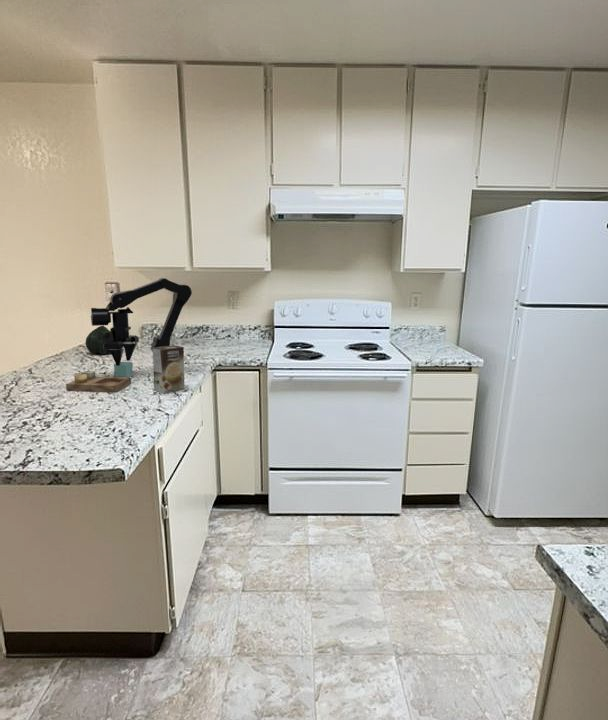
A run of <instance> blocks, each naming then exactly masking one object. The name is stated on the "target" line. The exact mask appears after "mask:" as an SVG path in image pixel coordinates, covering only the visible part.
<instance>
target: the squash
mask: <svg viewBox="0 0 608 720" xmlns="http://www.w3.org/2000/svg"><path fill="white" fill-rule="evenodd" d="M100 332H104V333H108V332H110V330H109V328H107V327H106V325H100V326H98V327H96V328H95V329H93V330H92V331H90V333H89V334H88V335H87V336H86V338H85V347H86V349H87V350H88V352H89V353H91V354H98V353H99V354H100V355H102V356H105V355H106V354H111V353H110V352H109V351H106V350H105V349H103V344H104V343H105V342H103V343H101V341H100V340H98V339H97V338H98V333H100ZM109 341H110V340H109ZM106 342H107V341H106Z"/></svg>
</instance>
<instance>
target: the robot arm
mask: <svg viewBox="0 0 608 720" xmlns="http://www.w3.org/2000/svg"><path fill="white" fill-rule="evenodd" d="M163 289H165V290H167V291H169V292H170V293H172V304H171V307H170V309H169V311H168V314H167V316H166V319H165V321H164V325H163V326H162V329H161V332H160V333H159V335H158V336H153V339H152V342H151V343H150V346H151V348H150V351H151V352H152V353H153V347H163V346H171V337H172V335H173V332H174V330H175V327H176V325H177V322H178V320H179V316H180V314H181V312H182V309H183V307H184V306H185V305H186V303H188V301H189V300H190V297H191V296H192V295H193V294H192V293H193V292H192V291H193V290H192V288H191V286H189V285H187V284H179V283H176V282H174V281H171V280H169V279H167V278H163V277H161V278H158V280H154V281H152V282H149V283H147V284H144V285H142V286H138V287H137V288H133V289H130V290H129V289H128V290H122V291H117V292H114V293H113V294H111V296H110V298H109V299H110V300H109V301H110V302H109V303H108V304H107V305H106V307H103V308H102V307H99V308H98V307H91V308H90V314H91V315H90V322H91V327H95V326H96V327H97V326H98V327H100V326H109V324H110V323H111V322H112V327H110V330H109V331H110V332H108V333H104V332H100V333H98V338H97V339H98V340H100V341H101V343H103V342H105V343H104V344H103V349H105V350H106V351H109V352H110V353H109V354H111V357H112V358H113V360H114V364H116V365H117V366H119V365H120V362H122V357H123V354H124V353H125V354H124V355H125V359H126V362H131V358H132V356H133V354H134V351H135V349H136V347H137V345H138V343H139V342H140V340H139V336H137V335H135V334H133V335H131V334H130V330H131V326H129V314H133V313H134V311H133V310H131V308H130V307H129V305H130V304H132V303H133V302H135V301H136V300H138V299H140V298H142V297H146V296H147V295H150V294H152V293H155V292H159V291H161V290H163ZM125 307H126V308H125ZM116 310H117V311H116ZM109 340H110V341H109ZM106 341H107V342H106Z"/></svg>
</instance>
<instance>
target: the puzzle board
mask: <svg viewBox="0 0 608 720" xmlns="http://www.w3.org/2000/svg"><path fill="white" fill-rule="evenodd" d="M73 376H74V377H73V378H74V380H72V381H70V382H68V383H66V384H65V389H66V392H85V393H86V392H87V393H89V392H91V393H113V392H117V393H119V392H120V391H121V390H123V389H125V388H127V387H128V386H131V384H132V377H131V378H128V377H115V376H101V375H100V376H96V371H95V370H85V371H83V372H80V373H79V374H75V375H73Z"/></svg>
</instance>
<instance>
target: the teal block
mask: <svg viewBox="0 0 608 720" xmlns="http://www.w3.org/2000/svg"><path fill="white" fill-rule="evenodd" d="M113 372H114V373H113V374H114V377H128V378H130V377H131V378H132V377H133V362H132V361H121V362H120V365H119V366H117V365H116V363H113Z"/></svg>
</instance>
